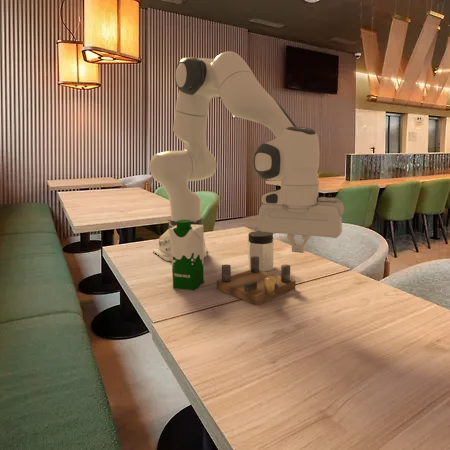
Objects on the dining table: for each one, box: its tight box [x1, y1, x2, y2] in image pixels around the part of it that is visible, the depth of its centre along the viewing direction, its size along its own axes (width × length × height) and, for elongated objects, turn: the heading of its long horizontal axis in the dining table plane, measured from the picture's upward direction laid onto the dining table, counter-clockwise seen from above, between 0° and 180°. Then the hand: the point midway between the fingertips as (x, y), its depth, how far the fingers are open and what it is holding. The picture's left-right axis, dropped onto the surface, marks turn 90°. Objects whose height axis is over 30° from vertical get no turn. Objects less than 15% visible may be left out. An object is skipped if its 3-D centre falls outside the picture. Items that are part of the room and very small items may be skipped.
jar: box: [247, 230, 274, 272], centre depth 128 cm, size 9×8×12 cm
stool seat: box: [216, 256, 296, 306], centre depth 110 cm, size 16×16×7 cm
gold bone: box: [265, 276, 277, 295], centre depth 103 cm, size 9×3×4 cm, turn 168°
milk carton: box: [168, 220, 205, 291], centre depth 113 cm, size 9×9×20 cm
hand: (298, 251), depth 95 cm, fingers closed
